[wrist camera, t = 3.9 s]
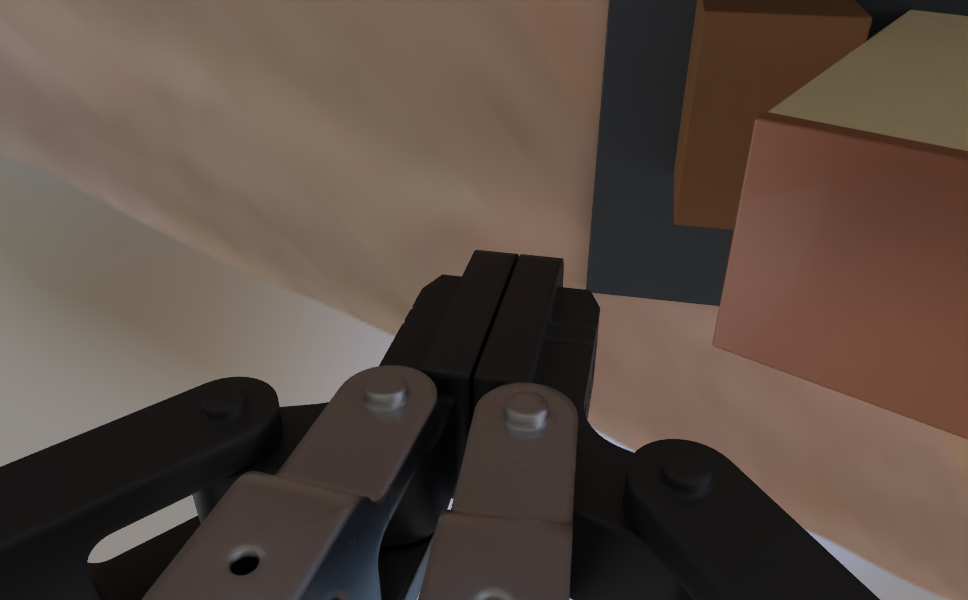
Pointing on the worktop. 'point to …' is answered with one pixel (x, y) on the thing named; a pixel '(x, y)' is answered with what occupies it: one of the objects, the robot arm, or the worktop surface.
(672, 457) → the robot arm
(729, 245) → the mat
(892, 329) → the carton
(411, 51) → the worktop surface
